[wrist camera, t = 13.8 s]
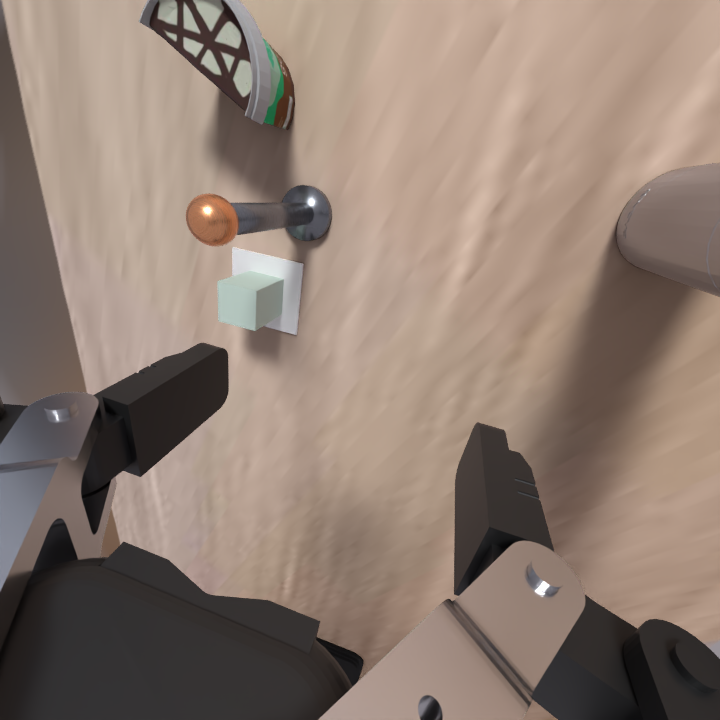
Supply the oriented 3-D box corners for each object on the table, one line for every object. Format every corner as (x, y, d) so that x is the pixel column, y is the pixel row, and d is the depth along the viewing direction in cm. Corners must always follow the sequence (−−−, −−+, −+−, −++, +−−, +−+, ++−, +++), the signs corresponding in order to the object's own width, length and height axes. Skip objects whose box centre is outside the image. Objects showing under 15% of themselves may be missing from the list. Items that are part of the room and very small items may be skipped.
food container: (328, 82, 35) (285, 42, 26) (298, 139, 38) (250, 120, 29) (234, -5, 34) (156, -77, 25) (210, 60, 37) (133, 16, 28)
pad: (303, 263, 44) (302, 263, 43) (297, 334, 48) (296, 335, 48) (234, 247, 45) (232, 247, 45) (234, 317, 50) (232, 317, 49)
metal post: (335, 190, 39) (235, 181, 22) (328, 244, 42) (235, 274, 24) (287, 181, 40) (154, 165, 23) (283, 234, 43) (163, 256, 25)
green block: (284, 278, 45) (256, 291, 39) (281, 314, 47) (255, 331, 41) (249, 270, 46) (217, 281, 40) (249, 305, 48) (218, 321, 42)
